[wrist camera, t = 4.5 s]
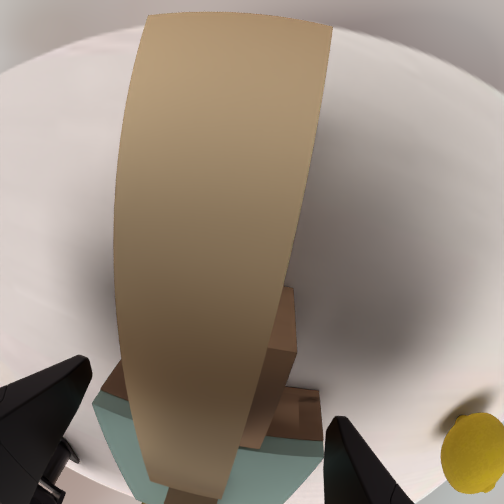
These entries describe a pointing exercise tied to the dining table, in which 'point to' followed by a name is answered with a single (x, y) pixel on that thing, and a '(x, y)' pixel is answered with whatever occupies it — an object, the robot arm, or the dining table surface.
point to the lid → (242, 473)
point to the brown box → (268, 388)
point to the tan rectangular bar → (208, 225)
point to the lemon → (474, 453)
